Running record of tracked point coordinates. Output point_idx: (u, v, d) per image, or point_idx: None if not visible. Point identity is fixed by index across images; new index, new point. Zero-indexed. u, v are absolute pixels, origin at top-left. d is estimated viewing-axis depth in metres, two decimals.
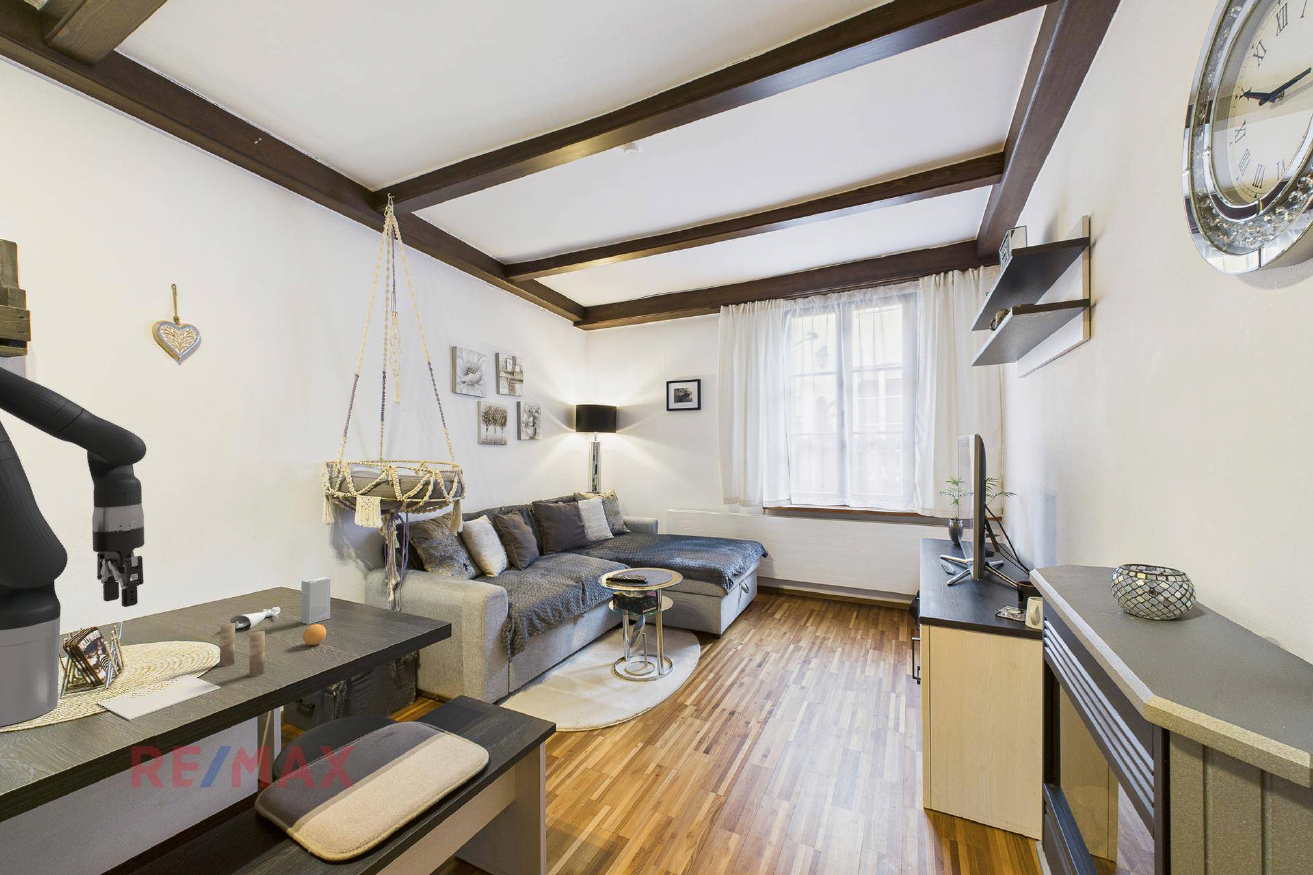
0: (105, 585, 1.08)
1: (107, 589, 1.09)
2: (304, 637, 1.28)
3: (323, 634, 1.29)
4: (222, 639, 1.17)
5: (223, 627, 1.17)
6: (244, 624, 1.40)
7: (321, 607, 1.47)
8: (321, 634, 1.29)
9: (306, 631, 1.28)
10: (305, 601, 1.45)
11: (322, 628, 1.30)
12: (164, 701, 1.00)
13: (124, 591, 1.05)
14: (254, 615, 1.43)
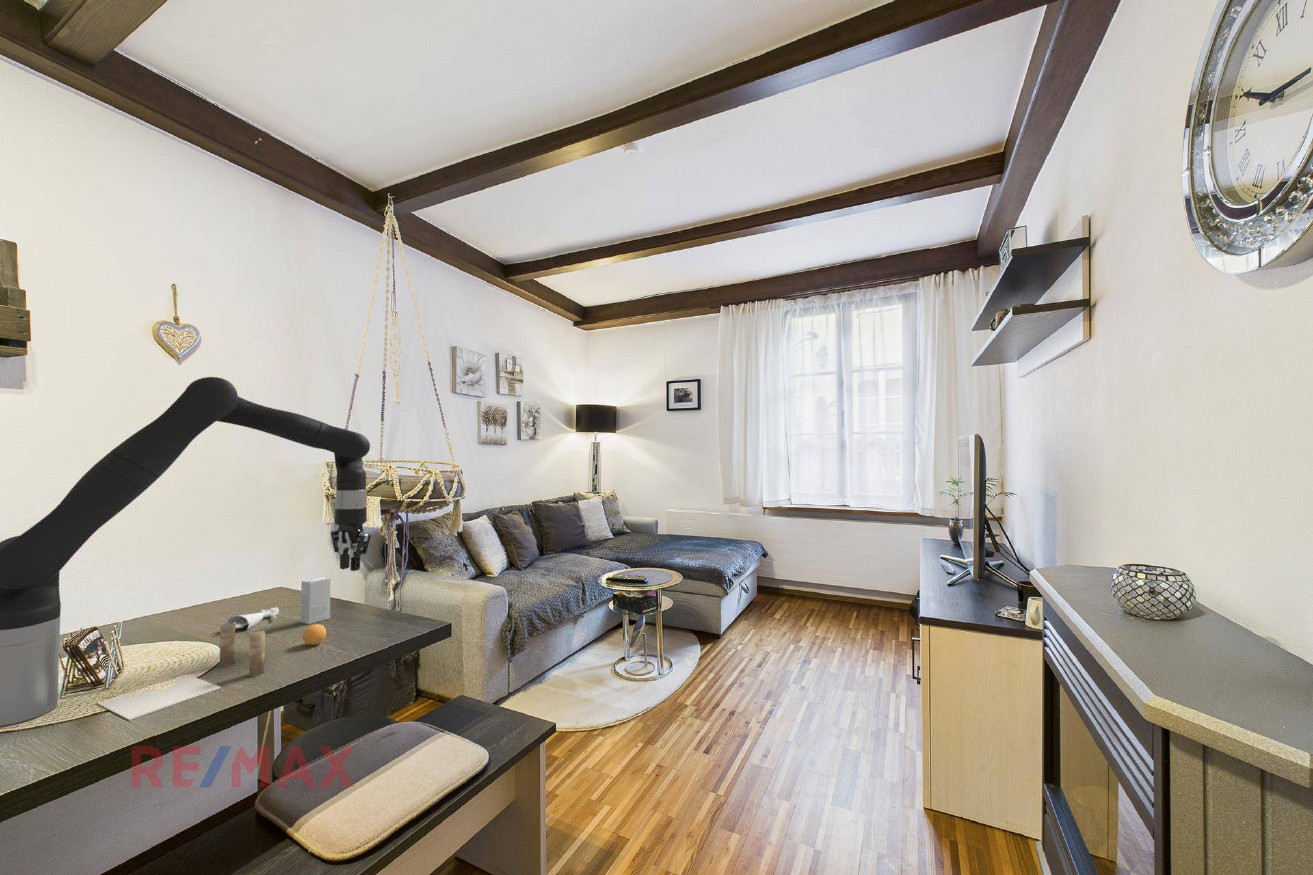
0: (342, 556, 1.38)
1: (343, 559, 1.39)
2: (304, 637, 1.28)
3: (323, 634, 1.29)
4: (222, 639, 1.17)
5: (223, 627, 1.17)
6: (242, 625, 1.39)
7: (321, 607, 1.47)
8: (321, 634, 1.29)
9: (306, 631, 1.28)
10: (305, 601, 1.45)
11: (322, 628, 1.30)
12: (164, 701, 1.00)
13: (353, 558, 1.37)
14: (252, 616, 1.43)
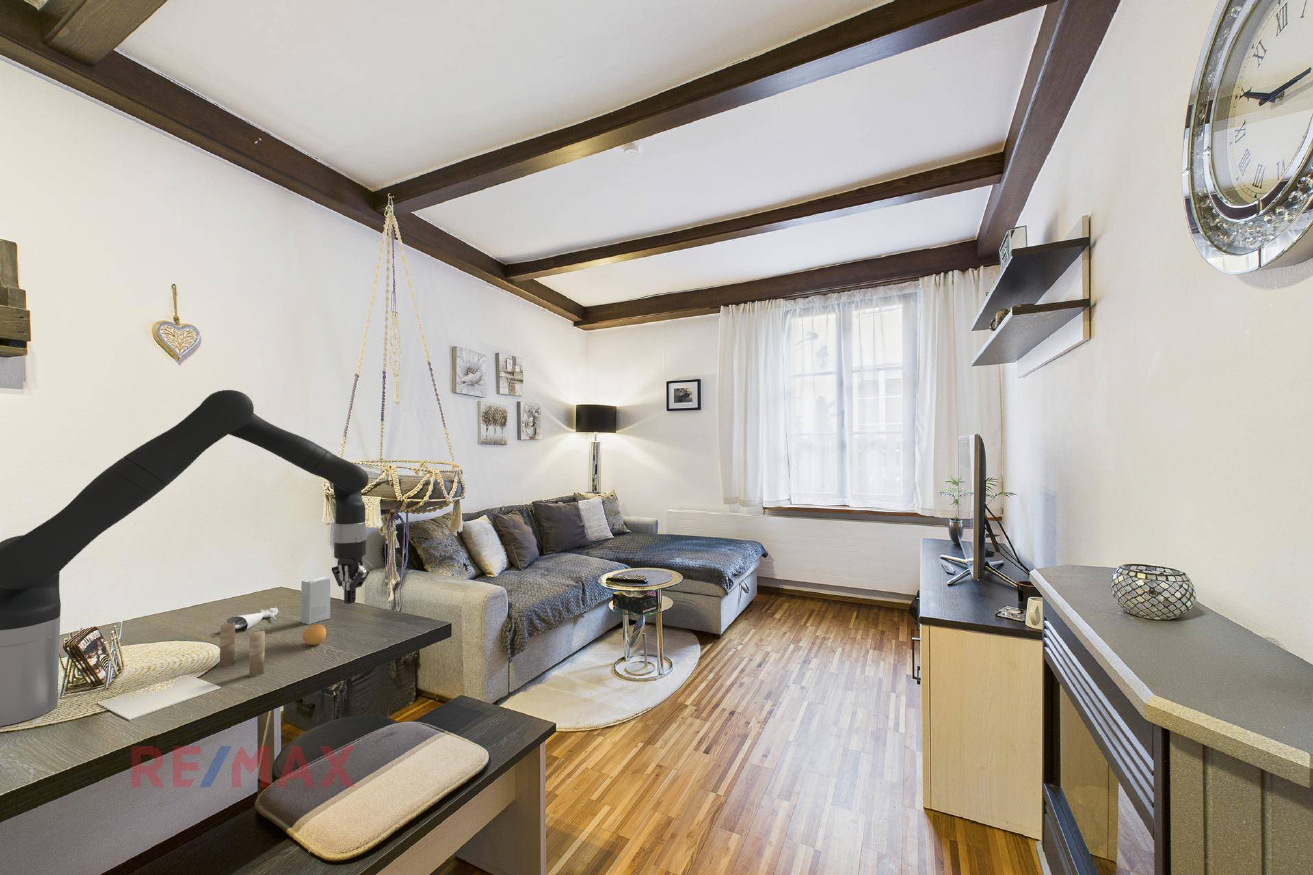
0: (346, 590, 1.38)
1: None
2: (304, 637, 1.28)
3: (323, 634, 1.29)
4: (222, 639, 1.17)
5: (223, 627, 1.17)
6: (241, 625, 1.39)
7: (321, 607, 1.47)
8: (321, 634, 1.29)
9: (306, 631, 1.28)
10: (305, 601, 1.45)
11: (322, 628, 1.30)
12: (164, 701, 1.00)
13: (348, 591, 1.37)
14: (251, 616, 1.42)
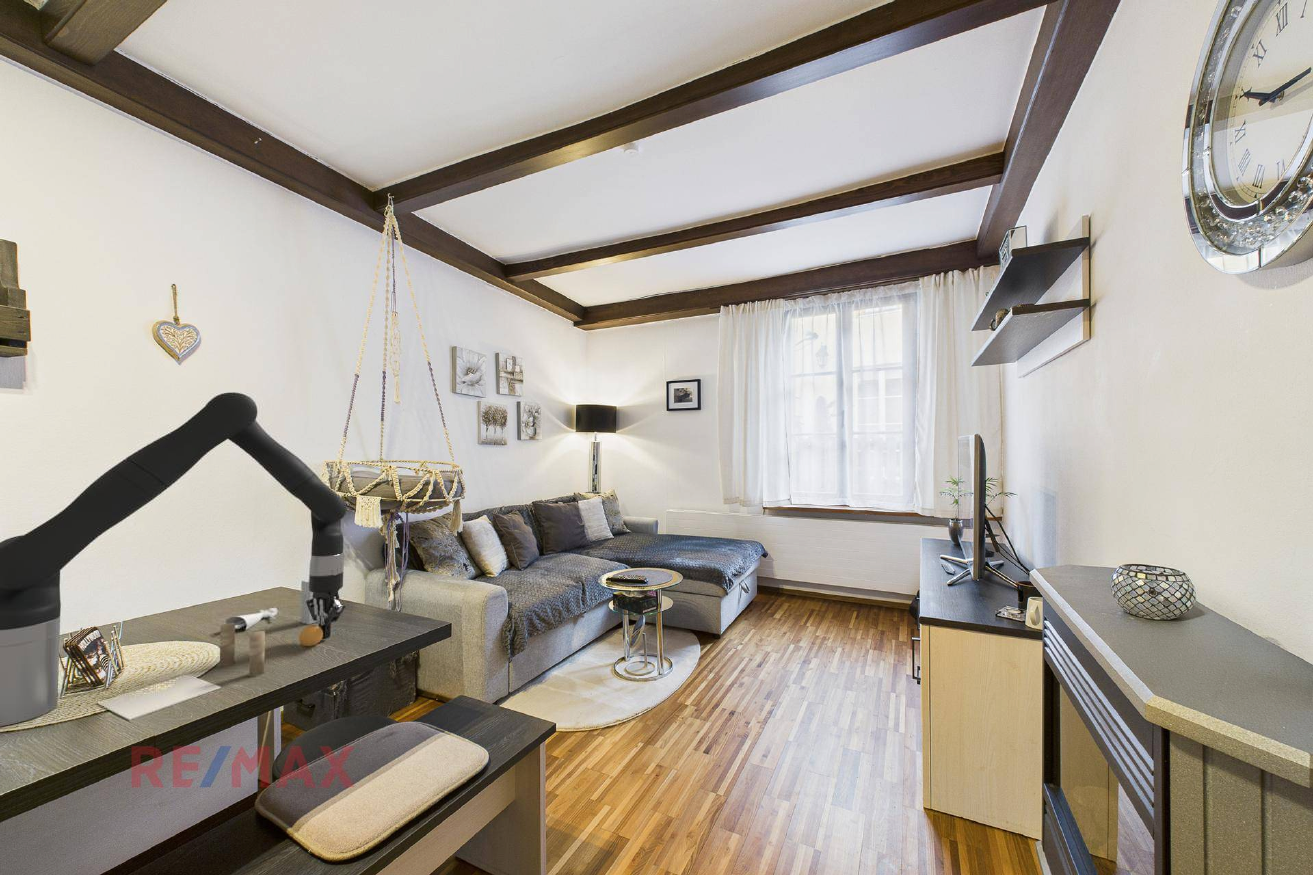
0: (320, 625, 1.32)
1: None
2: (301, 640, 1.27)
3: (319, 635, 1.29)
4: (222, 639, 1.17)
5: (223, 627, 1.17)
6: (240, 625, 1.39)
7: None
8: (317, 635, 1.28)
9: (301, 634, 1.27)
10: (305, 601, 1.45)
11: (317, 629, 1.29)
12: (164, 701, 1.00)
13: (323, 626, 1.32)
14: (250, 616, 1.42)
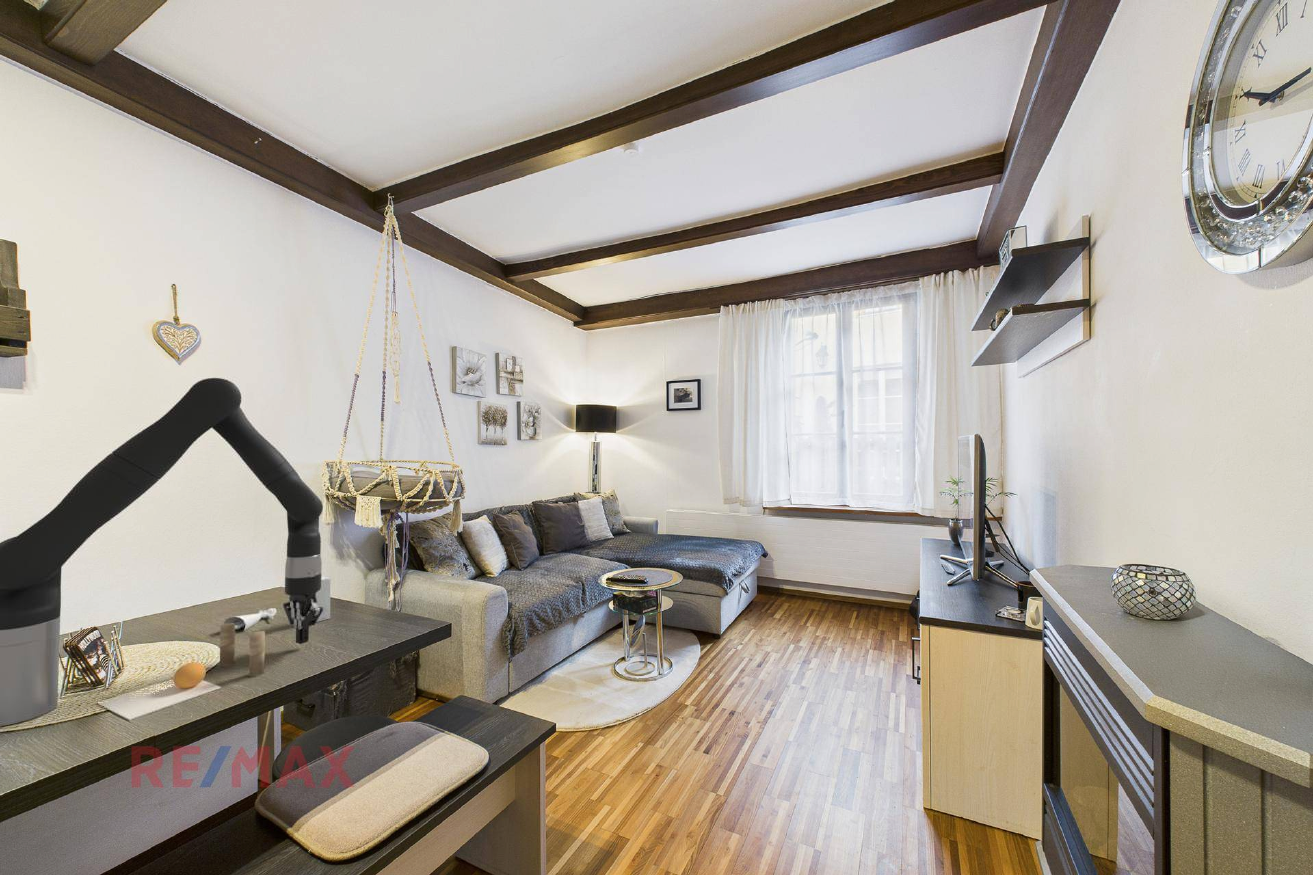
0: (298, 629, 1.26)
1: None
2: None
3: (193, 680, 1.05)
4: (222, 639, 1.17)
5: (223, 627, 1.17)
6: (238, 626, 1.38)
7: None
8: (196, 678, 1.05)
9: None
10: None
11: (194, 684, 1.06)
12: (164, 701, 1.00)
13: (300, 630, 1.26)
14: (249, 616, 1.42)
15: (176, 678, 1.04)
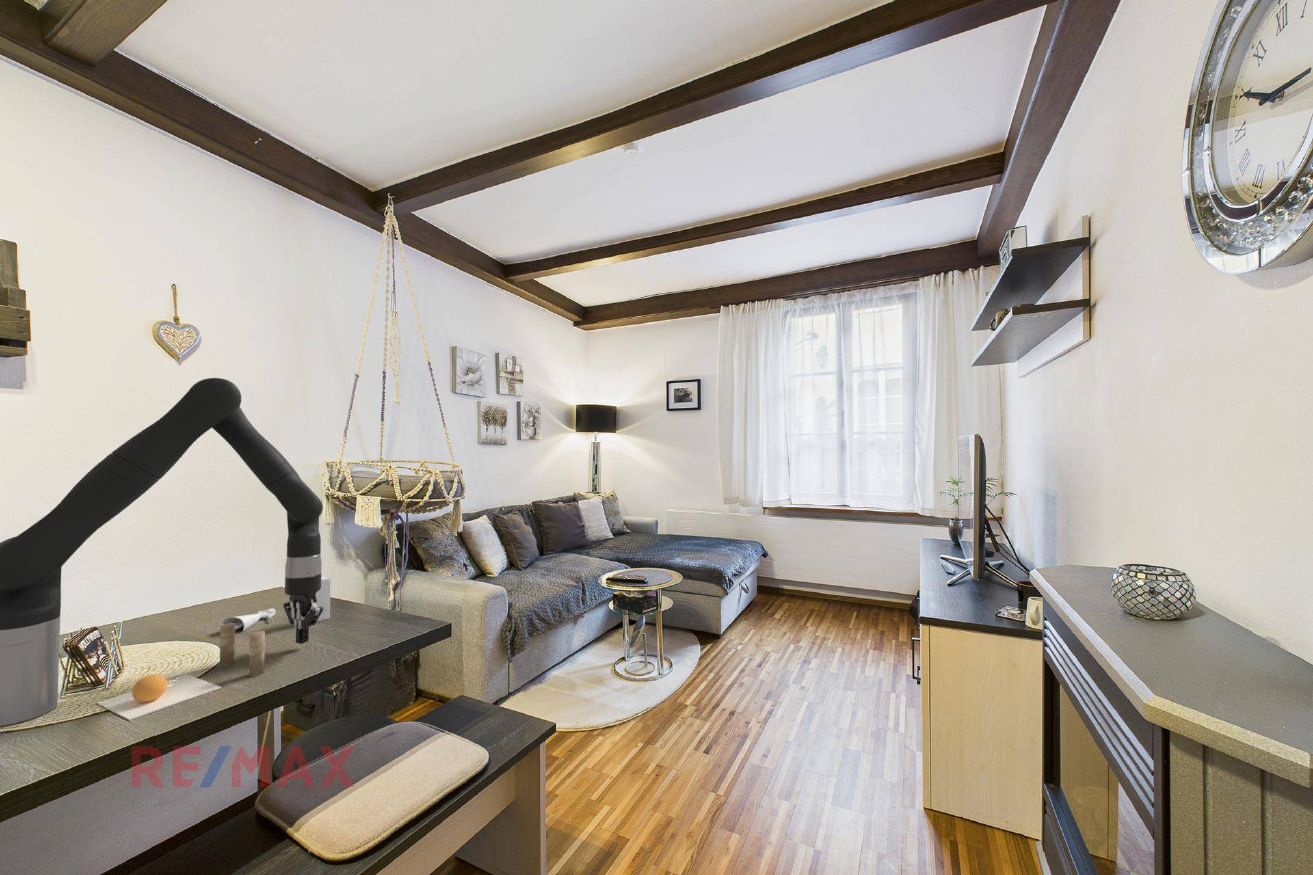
0: (298, 629, 1.26)
1: None
2: (133, 692, 0.98)
3: (160, 688, 1.00)
4: (222, 639, 1.17)
5: (223, 627, 1.17)
6: (237, 626, 1.38)
7: None
8: (157, 688, 1.00)
9: (137, 684, 0.99)
10: None
11: (160, 680, 1.01)
12: (164, 701, 1.00)
13: (300, 630, 1.26)
14: (248, 617, 1.42)
15: None
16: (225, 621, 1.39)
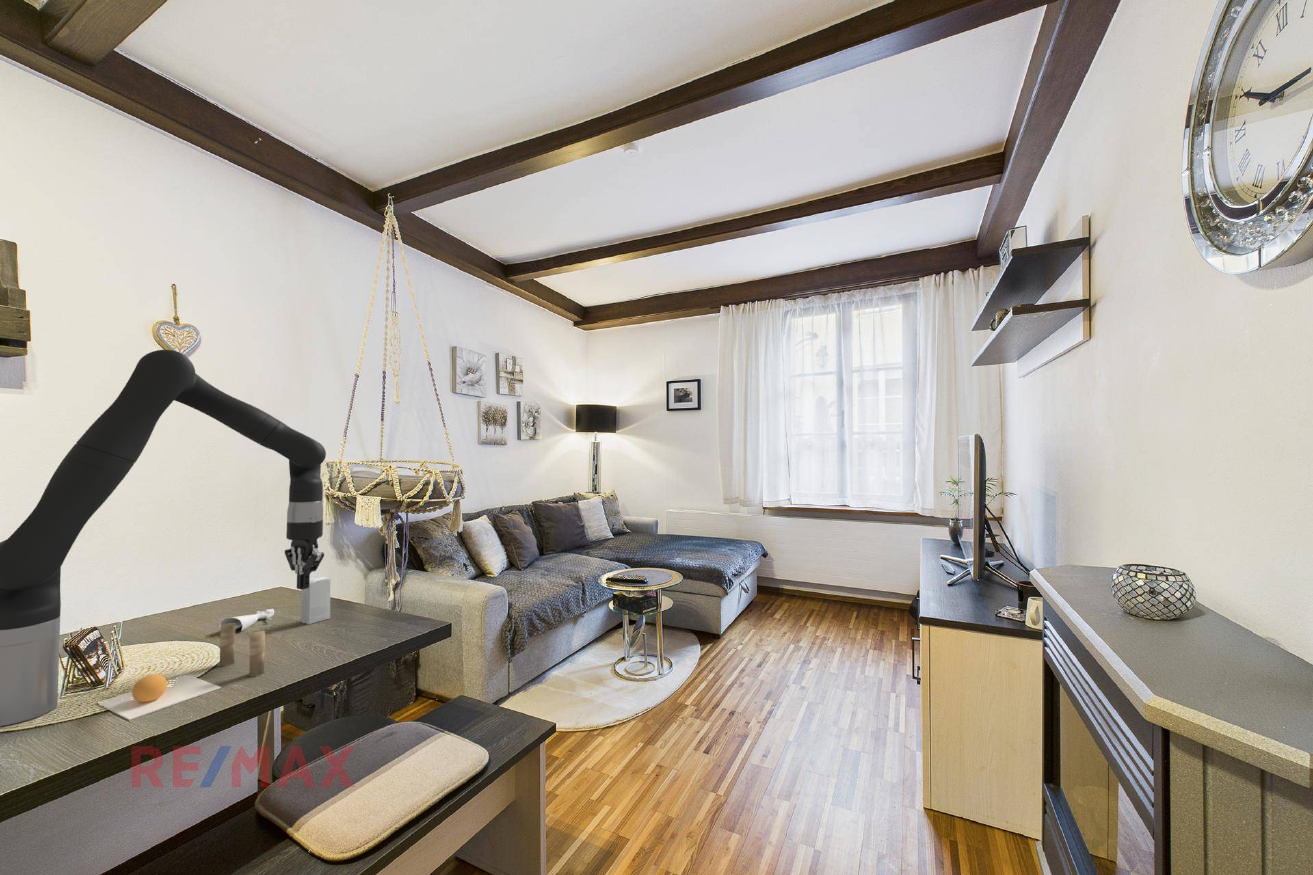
0: (299, 575, 1.27)
1: None
2: (133, 692, 0.98)
3: (160, 688, 1.00)
4: (222, 639, 1.17)
5: (223, 627, 1.17)
6: (235, 626, 1.38)
7: (321, 607, 1.47)
8: (157, 688, 1.00)
9: (137, 684, 0.99)
10: (305, 601, 1.45)
11: (160, 680, 1.01)
12: (164, 701, 1.00)
13: (301, 576, 1.26)
14: (246, 617, 1.41)
15: None
16: (223, 621, 1.39)
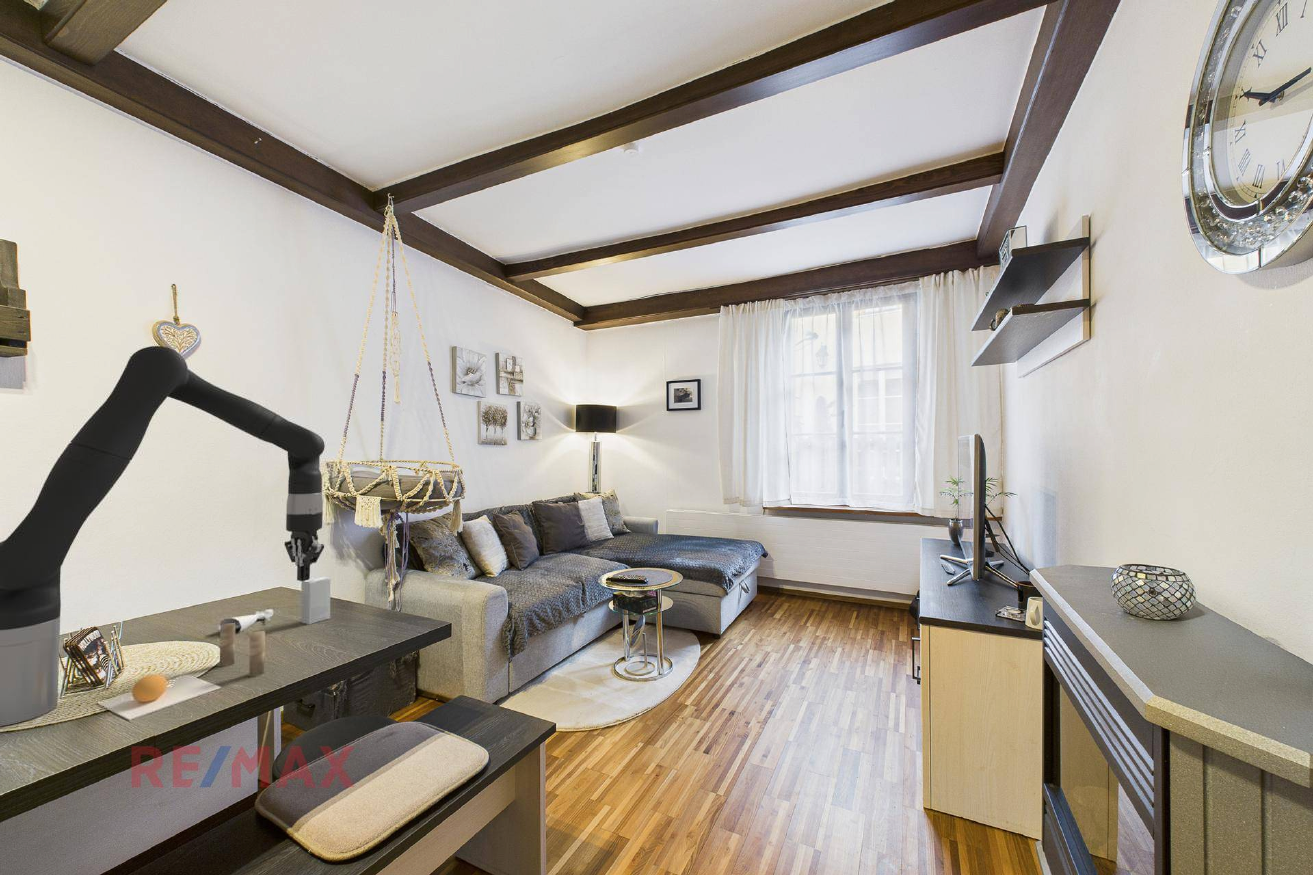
0: (299, 567, 1.27)
1: None
2: (133, 692, 0.98)
3: (160, 688, 1.00)
4: (222, 639, 1.17)
5: (223, 627, 1.17)
6: None
7: (321, 607, 1.47)
8: (157, 688, 1.00)
9: (137, 684, 0.99)
10: (305, 601, 1.45)
11: (160, 680, 1.01)
12: (164, 701, 1.00)
13: (301, 568, 1.27)
14: (245, 618, 1.41)
15: None
16: (222, 622, 1.38)
